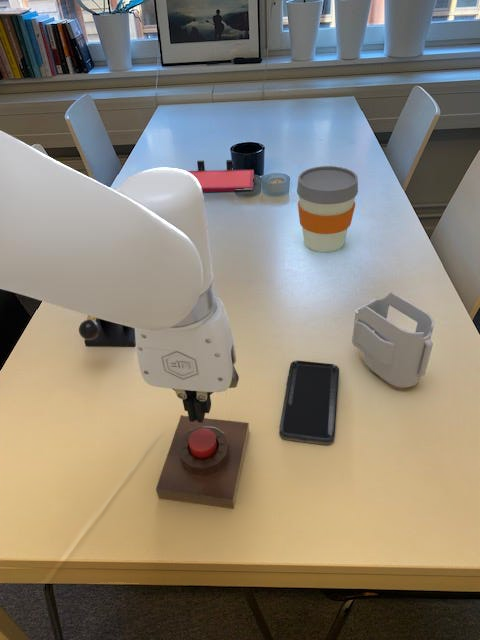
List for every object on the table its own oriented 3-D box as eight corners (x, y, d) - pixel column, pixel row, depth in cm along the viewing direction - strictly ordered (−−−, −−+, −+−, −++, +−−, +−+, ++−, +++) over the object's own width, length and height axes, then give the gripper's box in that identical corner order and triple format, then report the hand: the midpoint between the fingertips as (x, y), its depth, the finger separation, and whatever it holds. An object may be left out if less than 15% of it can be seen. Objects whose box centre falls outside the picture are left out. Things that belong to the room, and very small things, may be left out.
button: (213, 460, 63) (212, 452, 62) (186, 457, 64) (185, 449, 63) (219, 438, 66) (218, 430, 65) (193, 435, 67) (192, 427, 66)
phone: (339, 364, 79) (334, 441, 67) (339, 369, 79) (333, 446, 68) (290, 359, 80) (277, 434, 69) (290, 364, 81) (277, 439, 70)
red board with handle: (152, 170, 145) (143, 194, 134) (151, 161, 143) (141, 184, 132) (254, 168, 143) (253, 192, 132) (254, 159, 141) (252, 182, 130)
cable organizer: (371, 341, 84) (380, 284, 76) (431, 383, 76) (448, 324, 68) (343, 358, 81) (349, 301, 74) (402, 403, 73) (416, 345, 66)
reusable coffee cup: (306, 223, 116) (308, 162, 107) (359, 232, 112) (366, 169, 102) (287, 250, 108) (287, 186, 98) (343, 261, 103) (349, 195, 94)
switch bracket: (135, 346, 86) (116, 278, 77) (85, 346, 87) (61, 278, 78) (149, 304, 96) (134, 238, 86) (104, 304, 96) (85, 239, 87)
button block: (233, 509, 62) (231, 492, 59) (158, 498, 64) (153, 481, 61) (249, 432, 71) (248, 414, 68) (182, 424, 73) (179, 407, 70)
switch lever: (100, 343, 78) (93, 334, 75) (81, 343, 78) (73, 334, 76) (116, 264, 85) (110, 254, 82) (98, 264, 85) (91, 254, 82)
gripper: (93, 315, 47) (132, 431, 59) (245, 326, 45) (253, 445, 57) (120, 270, 53) (151, 385, 65) (257, 278, 50) (263, 395, 62)
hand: (199, 412), depth 61 cm, fingers closed
